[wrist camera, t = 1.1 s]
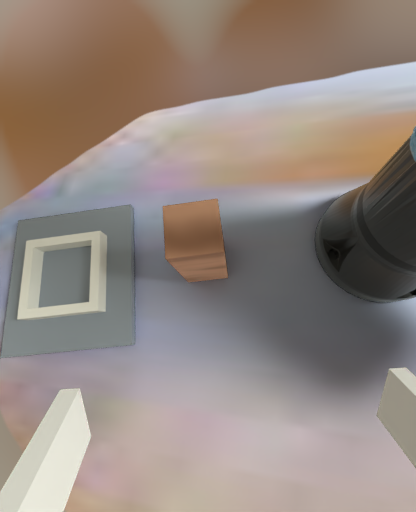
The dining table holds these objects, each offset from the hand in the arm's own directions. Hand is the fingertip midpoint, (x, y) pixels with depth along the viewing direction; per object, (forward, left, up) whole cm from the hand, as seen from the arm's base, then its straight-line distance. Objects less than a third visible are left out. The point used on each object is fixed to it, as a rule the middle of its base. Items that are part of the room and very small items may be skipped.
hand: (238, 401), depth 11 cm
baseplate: (+2, -25, -22) cm, 34 cm away
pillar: (-9, -9, -22) cm, 26 cm away
